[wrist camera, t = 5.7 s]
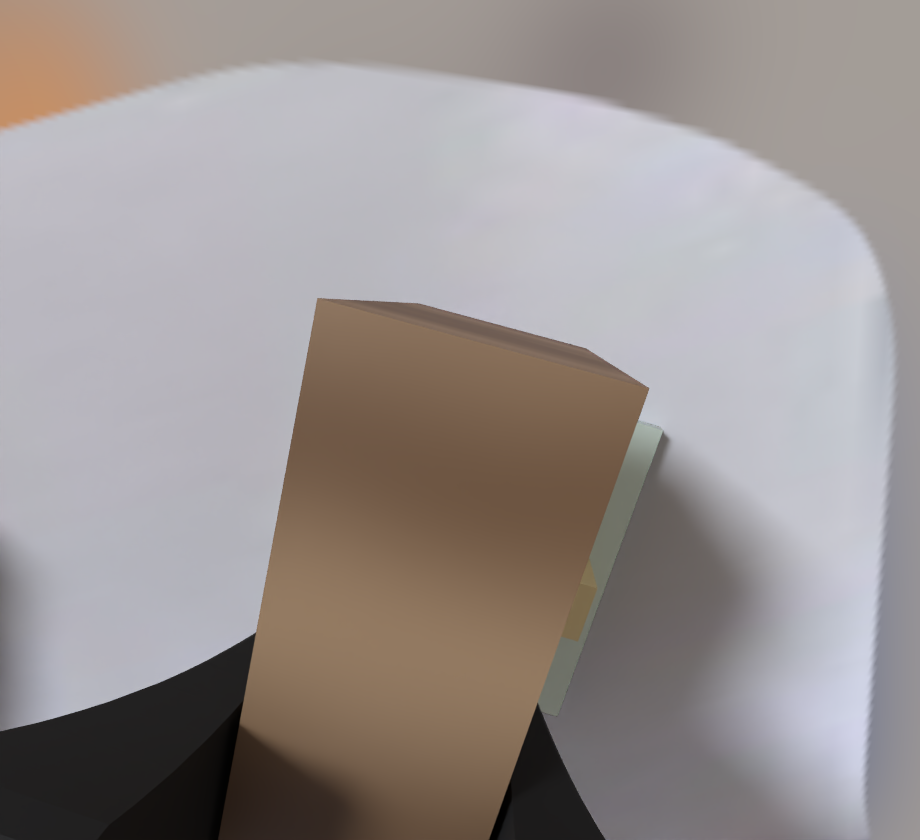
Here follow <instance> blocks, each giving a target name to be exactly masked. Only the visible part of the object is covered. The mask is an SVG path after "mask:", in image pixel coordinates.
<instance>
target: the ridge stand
mask: <svg viewBox="0 0 920 840" xmlns="http://www.w3.org/2000/svg"><path fill="white" fill-rule="evenodd" d="M662 432H663V430H662V429H661V428H660V427H659V426H655V425H652V424H648V423H644V422H641V421H638V422H637V424H636V427H635V430H634V433H633V436H632V439H631V441H630V444H629V447H628V450H627V453H626V455H625V458H624V461H623V464H622V467H621V469H620V472H619V475H618V478H617V481H616V484H615V486H614V489H613V492H612V495H611V498H610V500H609V503H608V506H607V509H606V512H605V514H604V517H603V520H602V523H601V526H600V529H599V531H598V534H597V537H596V540H595V543H594V545H593V548H592V551H591V554H590V557H589V559H588V562H587V565H586V568H585V571H584V574H583V576H582V579H581V582H580V585H579V588H578V590H577V593H576V596H575V599H574V602H573V604H572V607H571V610H570V613H569V616H568V619H567V621H566V624H565V627H564V630H563V633H562V635H561V638H560V641H559V644H558V647H557V649H556V652H555V655H554V658H553V661H552V664H551V666H550V669H549V672H548V675H547V678H546V680H545V683H544V686H543V689H542V692H541V694H540V697H539V700H538V704H539V707H540V710H541V712H543V713H547V714H550V715H553V716H556V717H558V714H559V711H560V709H561V706H562V703H563V700H564V698H565V695H566V692H567V690H568V687H569V684H570V681H571V679H572V676H573V673H574V671H575V668H576V665H577V663H578V660H579V657H580V654H581V652H582V649H583V646H584V644H585V641H586V638H587V635H588V633H589V630H590V627H591V625H592V622H593V619H594V617H595V614H596V611H597V608H598V606H599V603H600V600H601V598H602V595H603V592H604V589H605V587H606V584H607V581H608V579H609V576H610V573H611V570H612V568H613V565H614V562H615V560H616V557H617V554H618V552H619V549H620V546H621V543H622V541H623V538H624V535H625V533H626V530H627V527H628V524H629V522H630V519H631V516H632V514H633V511H634V508H635V506H636V503H637V500H638V497H639V495H640V492H641V489H642V487H643V484H644V481H645V478H646V476H647V473H648V470H649V468H650V465H651V462H652V460H653V457H654V454H655V451H656V449H657V446H658V443H659V441H660V438H661V435H662Z"/></svg>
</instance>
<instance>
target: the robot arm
mask: <svg viewBox="0 0 920 840" xmlns="http://www.w3.org/2000/svg"><path fill="white" fill-rule="evenodd" d="M255 636H256V633H254V634H253V635H251V636H250V637H248V638H246V639H245V640H243V641H241V642H240V643H238V644H236V645H234V646H232V647H231V648H229V649H227V650H225V651H223V652H222V653H220V654H218V655H216V656H214V657H213V658H211V659H209V660H207V661H205V662H203V663H201V664H199V665H197V666H195V667H193V668H191V669H189V670H187V671H185V672H183V673H180V674H178V675H176V676H174V677H172V678H169V679H167V680H165V681H163V682H160V683H158V684H155V685H152V686H150V687H147V688H144V689H142V690H139V691H137V692H134V693H131V694H129V695H126V696H123V697H121V698H118V699H115V700H113V701H110V702H107V703H104V704H100V705H97V706H94V707H91V708H88V709H85V710H82V711H78V712H75V713H71V714H68V715H64V716H61V717H57V718H54V719H50V720H46V721H43V722H39V723H35V724H31V725H26V726H22V727H18V728H13V729H9V730H5V731H0V840H218V838H219V832H220V827H221V821H222V816H223V811H224V805H225V800H226V794H227V789H228V783H229V778H230V772H231V767H232V762H233V756H234V751H235V745H236V740H237V734H238V729H239V723H240V718H241V713H242V707H243V702H244V696H245V691H246V685H247V680H248V674H249V669H250V663H251V658H252V653H253V647H254V642H255ZM489 840H605V838H604V837H603V835H602V833H601V832H600V830H599V829H598V827H597V825H596V824H595V822H594V820H593V818H592V817H591V815H590V813H589V811H588V810H587V808H586V806H585V804H584V803H583V801H582V799H581V797H580V795H579V793H578V792H577V790H576V788H575V786H574V784H573V782H572V780H571V778H570V776H569V774H568V772H567V770H566V767H565V765H564V763H563V761H562V759H561V757H560V755H559V753H558V750H557V748H556V746H555V744H554V741H553V739H552V737H551V734H550V732H549V729H548V727H547V725H546V722H545V720H544V717H543V715H542V712H541V710H540V707H539V704H538V703H537V706H536V709H535V711H534V714H533V717H532V720H531V723H530V725H529V728H528V731H527V734H526V737H525V739H524V742H523V745H522V748H521V751H520V754H519V756H518V759H517V762H516V765H515V768H514V770H513V773H512V776H511V779H510V782H509V784H508V787H507V790H506V793H505V796H504V799H503V801H502V804H501V807H500V810H499V813H498V815H497V818H496V821H495V824H494V827H493V829H492V832H491V835H490V838H489Z"/></svg>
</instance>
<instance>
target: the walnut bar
mask: <svg viewBox="0 0 920 840" xmlns="http://www.w3.org/2000/svg"><path fill="white" fill-rule="evenodd" d="M648 391H649V388H648V387H646V386H645V385H643V384H641V383H640V382H638V381H637V380H635V379H633V378H632V377H630V376H629V375H627V374H626V373H624V372H622V371H621V370H619V369H618V368H616V367H614V366H613V365H611V364H610V363H608V362H606V361H605V360H603V359H602V358H600V357H598V356H597V355H595V354H594V353H592V352H591V351H589V350H587V349H586V348H582V347H578V346H575V345H571V344H567V343H564V342H560V341H556V340H552V339H549V338H545V337H541V336H538V335H534V334H530V333H526V332H523V331H519V330H515V329H512V328H508V327H504V326H500V325H497V324H493V323H489V322H486V321H482V320H478V319H474V318H471V317H467V316H463V315H459V314H456V313H452V312H448V311H445V310H441V309H437V308H433V307H430V306H426V305H422V304H418V303H399V302H379V301H360V300H341V299H322V298H317V304H316V309H315V315H314V320H313V326H312V331H311V337H310V342H309V347H308V353H307V358H306V364H305V369H304V375H303V380H302V386H301V391H300V397H299V402H298V407H297V413H296V418H295V424H294V429H293V435H292V440H291V446H290V451H289V456H288V462H287V467H286V473H285V478H284V484H283V489H282V495H281V500H280V505H279V511H278V516H277V522H276V527H275V533H274V538H273V544H272V549H271V555H270V560H269V565H268V571H267V576H266V582H265V587H264V593H263V598H262V604H261V609H260V614H259V620H258V625H257V631H256V636H255V642H254V647H253V653H252V658H251V663H250V669H249V674H248V680H247V685H246V691H245V696H244V702H243V707H242V713H241V718H240V723H239V729H238V734H237V740H236V745H235V751H234V756H233V762H232V767H231V772H230V778H229V783H228V789H227V794H226V800H225V805H224V811H223V816H222V821H221V827H220V832H219V838H218V840H489V838H490V835H491V832H492V829H493V827H494V824H495V821H496V818H497V815H498V813H499V810H500V807H501V804H502V801H503V799H504V796H505V793H506V790H507V787H508V784H509V782H510V779H511V776H512V773H513V770H514V768H515V765H516V762H517V759H518V756H519V754H520V751H521V748H522V745H523V742H524V739H525V737H526V734H527V731H528V728H529V725H530V723H531V720H532V717H533V714H534V711H535V709H536V706H537V703H538V700H539V697H540V694H541V692H542V689H543V686H544V683H545V680H546V678H547V675H548V672H549V669H550V666H551V664H552V661H553V658H554V655H555V652H556V649H557V647H558V644H559V641H560V638H561V635H562V633H563V630H564V627H565V624H566V621H567V619H568V616H569V613H570V610H571V607H572V604H573V602H574V599H575V596H576V593H577V590H578V588H579V585H580V582H581V579H582V576H583V574H584V571H585V568H586V565H587V562H588V559H589V557H590V554H591V551H592V548H593V545H594V543H595V540H596V537H597V534H598V531H599V529H600V526H601V523H602V520H603V517H604V514H605V512H606V509H607V506H608V503H609V500H610V498H611V495H612V492H613V489H614V486H615V484H616V481H617V478H618V475H619V472H620V469H621V467H622V464H623V461H624V458H625V455H626V453H627V450H628V447H629V444H630V441H631V439H632V436H633V433H634V430H635V427H636V424H637V422H638V419H639V416H640V413H641V410H642V408H643V405H644V402H645V399H646V396H647V394H648Z"/></svg>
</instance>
